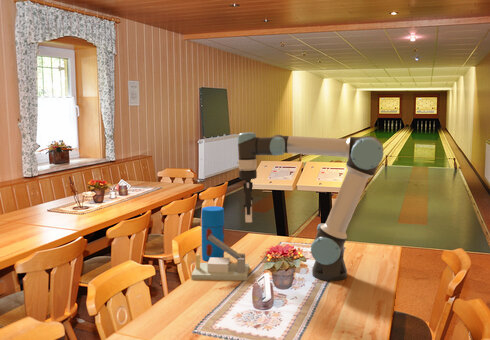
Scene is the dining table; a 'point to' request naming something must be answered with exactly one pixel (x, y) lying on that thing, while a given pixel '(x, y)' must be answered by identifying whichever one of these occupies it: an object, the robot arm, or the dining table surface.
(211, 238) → the clamp lever
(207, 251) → the thermos
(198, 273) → the clamp board
